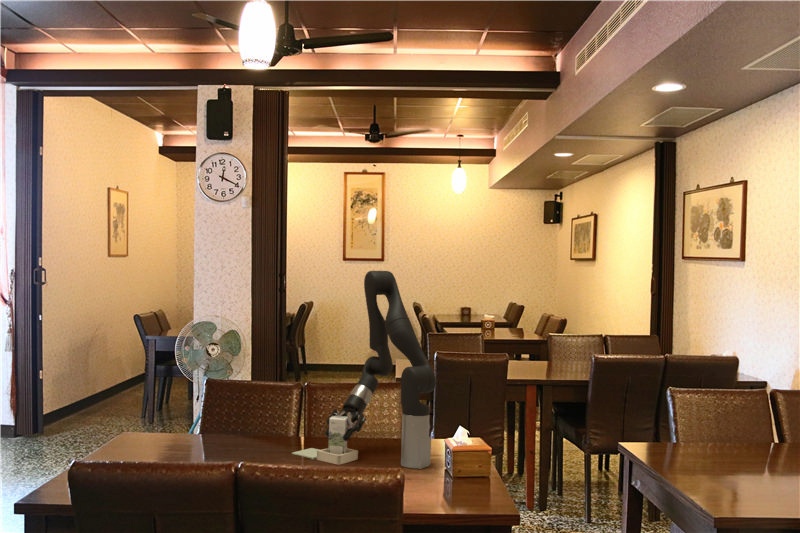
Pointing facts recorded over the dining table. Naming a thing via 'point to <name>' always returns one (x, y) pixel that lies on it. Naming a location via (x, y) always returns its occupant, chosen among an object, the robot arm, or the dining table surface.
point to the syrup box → (337, 435)
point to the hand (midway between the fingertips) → (335, 437)
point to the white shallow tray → (329, 455)
